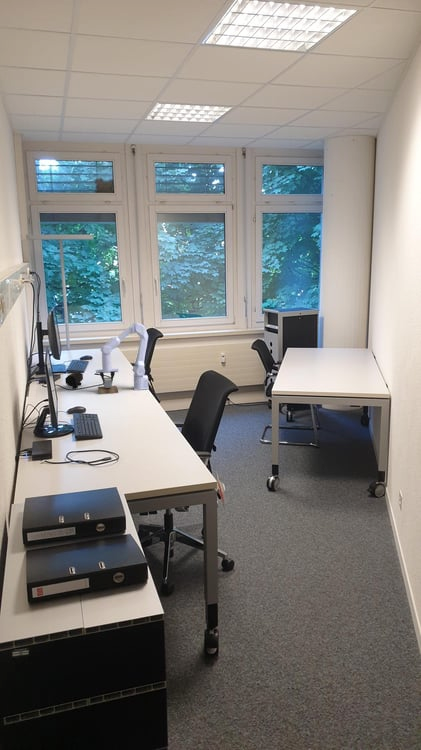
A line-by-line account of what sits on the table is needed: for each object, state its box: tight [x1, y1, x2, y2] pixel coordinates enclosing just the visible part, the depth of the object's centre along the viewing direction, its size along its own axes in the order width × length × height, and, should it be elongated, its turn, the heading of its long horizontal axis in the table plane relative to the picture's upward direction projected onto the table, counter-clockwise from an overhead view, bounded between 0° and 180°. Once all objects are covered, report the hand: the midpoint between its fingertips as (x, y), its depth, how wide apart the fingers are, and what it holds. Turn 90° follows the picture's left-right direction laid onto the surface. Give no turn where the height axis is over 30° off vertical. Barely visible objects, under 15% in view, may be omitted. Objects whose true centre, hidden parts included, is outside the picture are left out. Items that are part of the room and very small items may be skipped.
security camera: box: [64, 371, 84, 390], centre depth 369 cm, size 7×18×10 cm, turn 174°
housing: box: [103, 376, 113, 388], centre depth 357 cm, size 8×4×5 cm, turn 16°
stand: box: [97, 385, 119, 395], centre depth 358 cm, size 12×12×2 cm
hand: (107, 383), depth 357 cm, fingers closed on housing, 4 cm apart
